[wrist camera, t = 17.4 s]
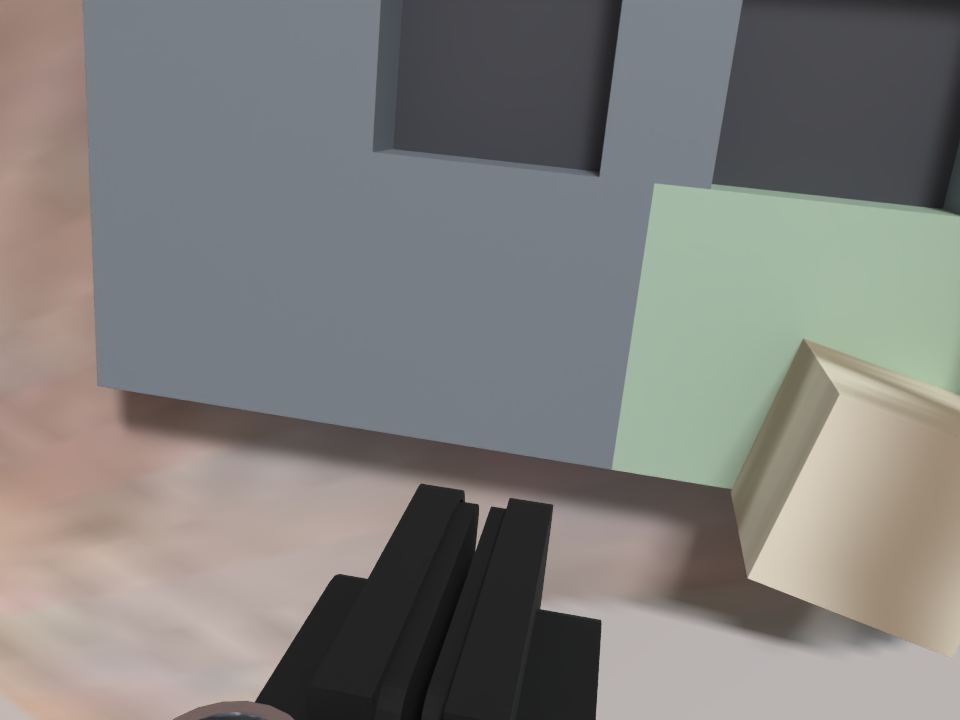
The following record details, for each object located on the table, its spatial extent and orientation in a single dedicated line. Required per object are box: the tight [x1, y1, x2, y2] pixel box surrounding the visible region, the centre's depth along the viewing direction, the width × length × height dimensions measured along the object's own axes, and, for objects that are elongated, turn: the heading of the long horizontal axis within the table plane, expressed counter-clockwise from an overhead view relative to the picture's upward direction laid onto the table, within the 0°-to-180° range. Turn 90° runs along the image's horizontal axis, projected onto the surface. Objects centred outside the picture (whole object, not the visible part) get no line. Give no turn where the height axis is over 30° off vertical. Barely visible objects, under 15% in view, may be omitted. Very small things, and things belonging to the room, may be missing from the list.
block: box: [731, 338, 960, 658], centre depth 22 cm, size 5×5×5 cm
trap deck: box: [83, 0, 960, 489], centre depth 24 cm, size 28×16×6 cm, turn 85°
